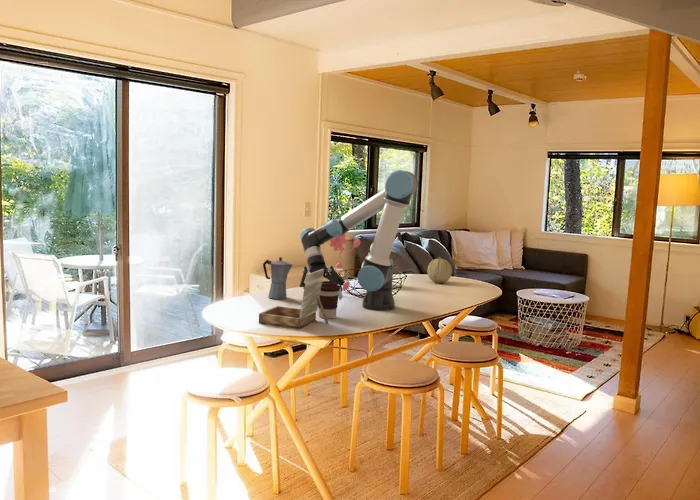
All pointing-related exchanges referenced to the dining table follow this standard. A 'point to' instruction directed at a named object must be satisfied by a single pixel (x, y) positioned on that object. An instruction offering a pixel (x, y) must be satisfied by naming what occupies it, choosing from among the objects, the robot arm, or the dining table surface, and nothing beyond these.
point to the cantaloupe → (439, 270)
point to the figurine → (338, 244)
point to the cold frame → (294, 315)
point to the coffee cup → (329, 299)
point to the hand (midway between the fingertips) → (326, 299)
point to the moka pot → (278, 278)
